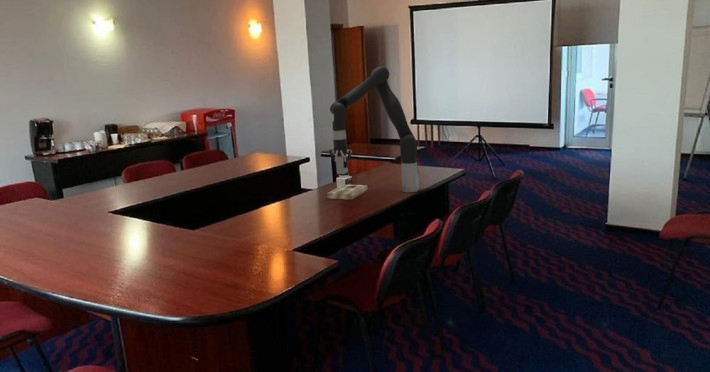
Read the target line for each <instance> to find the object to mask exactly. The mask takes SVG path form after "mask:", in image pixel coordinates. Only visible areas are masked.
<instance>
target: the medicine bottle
mask: <svg viewBox="0 0 710 372" xmlns="http://www.w3.org/2000/svg"><path fill="white" fill-rule="evenodd" d="M347 170H348V172H347V173H345V174H338V176H339V177H336V188H338V187H339V186H341V185H343V184H345V185H354V184H353V176H352V175H351V176H350V172H349V169H347Z"/></svg>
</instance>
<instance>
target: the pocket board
mask: <svg viewBox="0 0 710 372" xmlns="http://www.w3.org/2000/svg"><path fill="white" fill-rule="evenodd" d="M368 191H369V190H368V185H366V184H353V185H345V184H343V185H341V186H339V187H338V188H337V187H336V188H334V189H332V190H330V191H328V192H326V197H327V199H332V200H333V199H337V200H354V199H355V198H357V197H359V196H360V195H362V194H364V193H365V192H368Z"/></svg>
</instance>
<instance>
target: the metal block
mask: <svg viewBox="0 0 710 372" xmlns="http://www.w3.org/2000/svg"><path fill="white" fill-rule="evenodd" d="M344 162H345V161H344V157H342V156H337V157H336V165H335V168H336V174H337V175H339V174H345V173H347V172H348V170H349V169H348V167H347V168H345V165H344Z"/></svg>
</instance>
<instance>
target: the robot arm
mask: <svg viewBox="0 0 710 372" xmlns="http://www.w3.org/2000/svg"><path fill="white" fill-rule="evenodd" d="M389 77H390V71H389V69H388V68H387V67H385V66H378V67H375V68H374V69H373V70H372V71H371V73H370V76H369V77H367V78H366V79H365V80H364V81H362V82H361V83H359V84H358V85H357V86H355V87H354V88H352V89H351V90H349V91H348V92H347V93H345V94H344V96H342V97H340V98H338V99H337V100H335V101H334V102H333V103H331V105H330V107H329V111H330V113H331V114H332V115H333V121H332V142H333V149H330V150H329V151H328V152H329V155H330V158H331V161H334V163H335V166H336V157H337V156H342V157H344V161H345V162H344V165H345V168H347V169H348V167H349V161H350V160H351V158H352V155H353V154H352V153H353V149H348V144H347V143H348V142H347V132H346V123H345V120H346V109H347V108H349V107H352V106H353V105H355V104H357V102H358V101H360V100H361V99H362V98H363V97H365V95H367V94H368V93H369V92H370V91H371V90H373V89H374V88H375V89H376V91H377V92H378V94H379V97H380V100H381V102H382V105H383V107H384V110H385V112H386V114H387V116H388V119H389V120H390V122H391V123H392V125H393V126H394V128H395V130H396V132H397V135H398V137H399V140H400V141H399V146H400V147H399V149H400V151H399V152H400V161H401V163H400V166H401V167H400V168H401V184H402V185H401V186H402V192H403V193H418V192H419V191H420V178H419V177H420V174H419V173H418V156H417V154H418V153H417V152H418V151H417V139H416V137H415V135H414V134H413V132H412V131H411V128H410V126H409V124H408V121H407V118H406V115H405V112H404V109H403V107H402V104H401V102H400V101H399V99H398V97H397V96H396V94H394V91H392V89H391V88H390V84H389V82H388V79H389Z"/></svg>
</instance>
